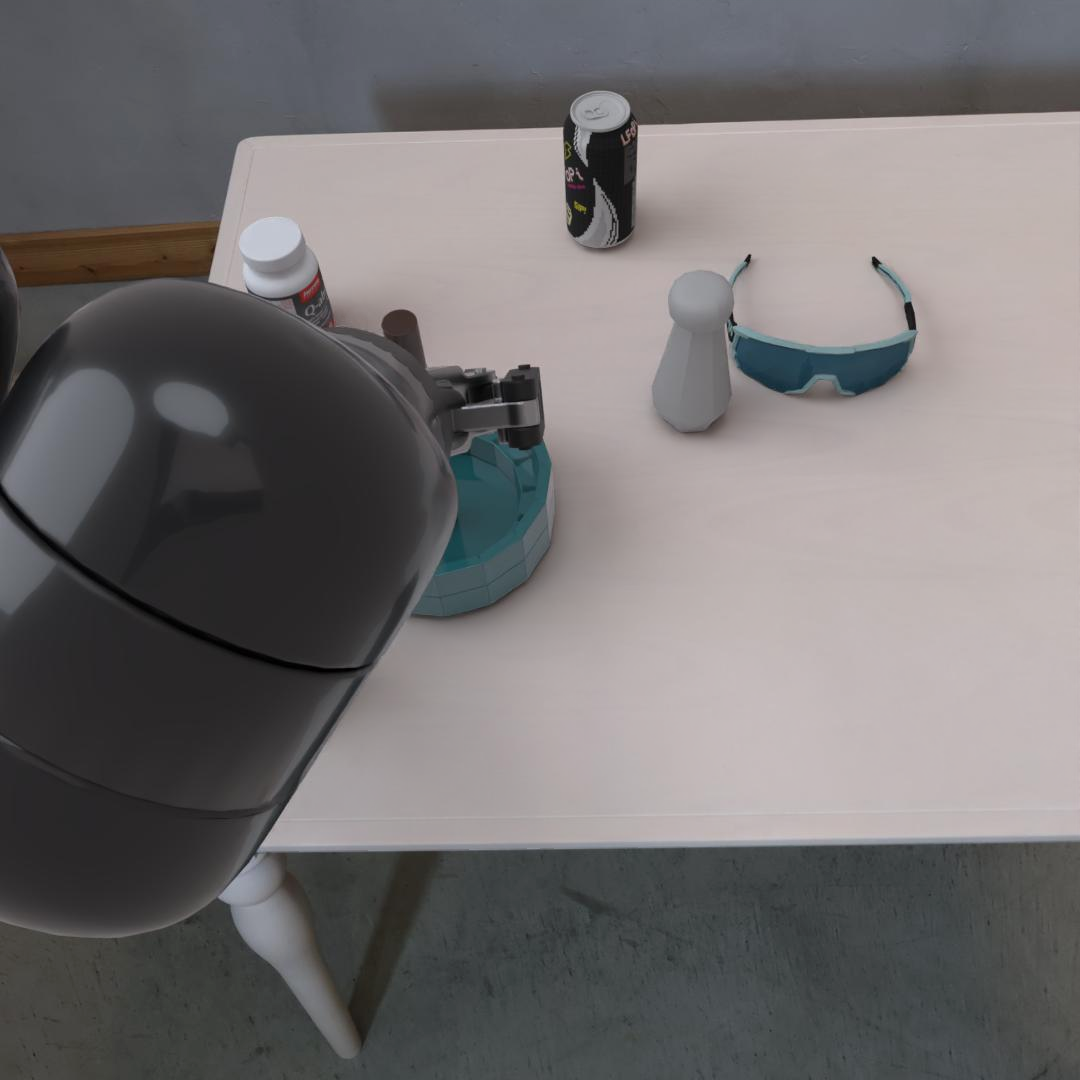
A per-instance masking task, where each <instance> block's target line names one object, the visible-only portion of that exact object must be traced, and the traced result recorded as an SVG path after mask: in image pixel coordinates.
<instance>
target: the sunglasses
mask: <svg viewBox="0 0 1080 1080" xmlns="http://www.w3.org/2000/svg"><path fill="white" fill-rule="evenodd" d="M751 259H752V254H751V253H748V254H747V256H746V257H745V259H744V260H743V261H742V262H741V263H740V264H739V265H738V266H737V267H736V268H735V269H734V271H733V273H732V275H731V276H730V278H729V279H728V280H727V281H728V282H729V283H730V284H731V285H732V289H733V288H734V285H735V282H736V281H737V279H738V278H739V277H740V275H741V274H742V273H743V272H744V271H745V270H746V268H748V266H749V264H750V262H751ZM871 265H872V266H873V267H874V268H875V269H876V270H877V271H878V272H879V273H880V274H881V275H883V276H884V277H886V278H887V279H888V281H890V282H891V283H892V284H893V286H894V287H895V288H896V290H897V291H898V292H899V294H900V296H901V297H902V300H903V310H904V314H905V319H906V322H907V323H906V324H907V327H908V330H905V331H903V332H901V333H898V334H896V335H894V336H892V337H891V338H890V337H889V338H886V339H883V340H879V341H874V342H870V343H863V344H856V345H851V346H820V345H819V346H817V345H811V344H805V343H800V342H794V341H791V340H786V339H783V338H778V337H775V336H771V335H766V334H764V333H761V332H759V331H755V330H754V329H752V328H750V327H748V326H745V325H744V326H743V325H741V326H740V325H738V322H736V321H735V318H734V316H735V315H734V310H733V311H732V313H731V315H730V317H729V319H728V321H727V323H726V329H727V331H726V332H727V338H728V341H729V342H730V343H729V347H730V349H731V357H732V359H733V361H734V363H735V366H736V368H737V369H740V371H742V372H743V373H744V374H745V375H747V376H749V377H750V378H752V379H754V380H755V381H757V382H758V383H760V384H762V385H763V386H765V387H766V388H768V389H771V390H774V391H776V392H780V393H782V394H784V395H791V394H793V395H794V394H805V393H806V392H807V391H808V390H809V389H810V388H812V387H813V386H814V385H815V384H816V383H817V382H819V381H829V382H831V383H832V385H833V387H834V390H835V391H836V392H837V394H838V395H845V396H850V397H856V396H859V395H861V394H863V393H865V392H868V391H870V390H873V389H875V388H878V387H881V386H883V385H884V384H886V383H887V382H888V381H890V380H891V379H892V378H894V377H895V376H896V375H897V374H899V373H902V371H903V370H904V368H905V367H906V365H907V364H908V362H909V358H910V356H911V355H912V353H913V351H914V348H915V343H916V339H917V335H918V333H919V332H920V331H919V330H917V322H916V321H917V319H916V312H915V309H914V306H913V303H912V300H913V299H912V293H911V292H910V290H909V289H908V287H907V286H906V285H905V283H904V282H903V280H902V279H901V277H900V276H899V275H897V274H896V273H895V272H894V271H893V270H892V269H890V268H889V267H888V266H887V265H885V264H883V263H882V262H881V261H880V260H879V259H878V258H877V257H876V256H874V255H873V256H871Z"/></svg>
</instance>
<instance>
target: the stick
mask: <svg viewBox="0 0 1080 1080" xmlns="http://www.w3.org/2000/svg"><path fill="white" fill-rule="evenodd" d="M381 330H382V333H383V337H385V338H387V339H389V340H391V341H393V342H394V343H396V344H398V345H399V346H401V347H402V348H404V349H405V350H406V351H408V352H409V353H410V354H411V355H413V356H414V357H415V358H416V359H417V360H418V361H419V362H420V363H421V364H422V365H423V367H424V368H428V365H427V360H426V356H425V351H424V346H423V341H422V336H421V331H420V327H419V322H418V317H417V316H416V314H415V313H413V312H412V311H411V310H408V309H401V308H400V309H394V310H391V311H389V312H388V313H386V314H385V315H384V317H383V318H382V321H381ZM457 520H458V516H457ZM457 520H456V523H457ZM456 523H455V524H456Z"/></svg>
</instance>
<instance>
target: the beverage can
mask: <svg viewBox="0 0 1080 1080" xmlns="http://www.w3.org/2000/svg"><path fill="white" fill-rule="evenodd" d="M638 125H639V124H638V121H637V119H636V116H635V114H634V113H633V112H632V111H631V104H630V103H629V102H628V100H627V99H626V98H625V96H624V97H623V95H621V94H619V93H616V92H613V91H610V90H609V91H608V90H593V91H590V92H587V93H584V94H582V95H580V96H578V97H577V98H576V99H574V101H573V102H572V104H571V106H570V111H569V113H568V114H567V116H566V118H565V119H564V123H563V128H562V140H563V165H564V167H563V168H564V187H565V188H564V193H565V217H566V219H565V220H566V229H567V231H568V234H569V235H570V236H571V238H572V239H573V240H575V241H576V243H578V244H581V245H583V246H586V247H588V248H593V249H608V248H612V247H616V246H618V245H620V244H622V243H624V242H625V241H626V240H627V239H629V238H630V237H631V235H632V234H633V233H634V230H635V228H636V214H637V212H636V210H637V208H636V207H637V181H638V180H637V176H638V174H637V173H638V169H637V168H638V143H639V141H638V139H639V138H638V137H639V126H638Z"/></svg>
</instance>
